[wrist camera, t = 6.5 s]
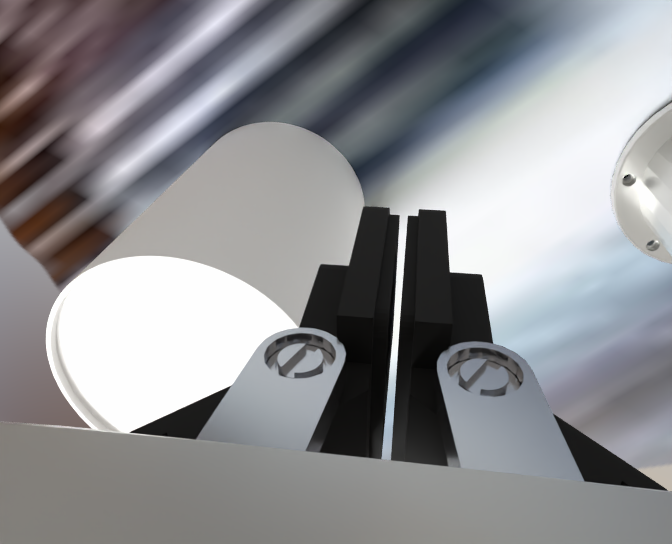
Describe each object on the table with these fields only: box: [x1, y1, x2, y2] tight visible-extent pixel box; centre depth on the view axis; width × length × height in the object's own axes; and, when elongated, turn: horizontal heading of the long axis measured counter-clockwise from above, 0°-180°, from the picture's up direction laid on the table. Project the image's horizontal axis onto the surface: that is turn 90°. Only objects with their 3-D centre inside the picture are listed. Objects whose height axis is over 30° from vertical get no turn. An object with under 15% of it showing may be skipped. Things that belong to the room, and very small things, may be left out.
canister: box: [46, 122, 365, 433], centre depth 35 cm, size 14×14×20 cm
